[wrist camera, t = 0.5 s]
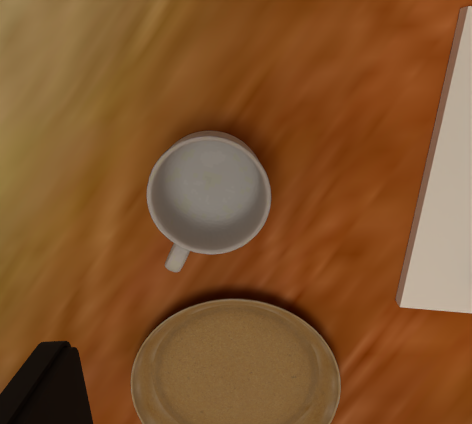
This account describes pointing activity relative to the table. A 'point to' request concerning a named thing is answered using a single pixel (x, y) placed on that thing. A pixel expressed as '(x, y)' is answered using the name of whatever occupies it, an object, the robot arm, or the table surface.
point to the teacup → (208, 195)
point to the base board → (445, 196)
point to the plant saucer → (235, 368)
